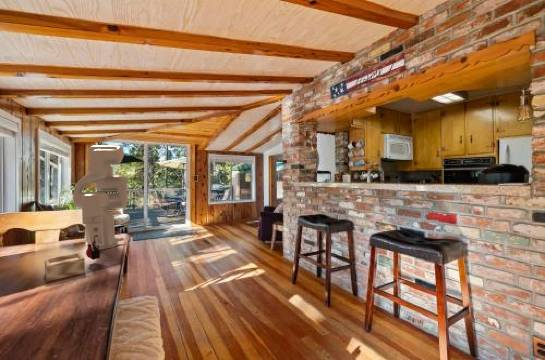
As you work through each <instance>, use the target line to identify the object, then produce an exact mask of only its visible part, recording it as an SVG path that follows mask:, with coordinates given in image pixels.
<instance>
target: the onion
mask: <svg viewBox="0 0 545 360" xmlns="http://www.w3.org/2000/svg"><path fill="white" fill-rule="evenodd" d="M93 244H95V243H93ZM94 246H95V245H94ZM87 248H88V247H87ZM87 248H86V250H85V255H86V257H87V258H88V259H91V251H92V247H91V246H90V247H89V248H88V249H87ZM99 248H100V247H99ZM101 253H102V249H100V254H101ZM91 260H92V259H91ZM93 260H96V259H93Z"/></svg>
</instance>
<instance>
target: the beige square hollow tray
mask: <svg viewBox="0 0 545 360" xmlns="http://www.w3.org/2000/svg"><path fill="white" fill-rule="evenodd" d="M85 267H86V265H85V257H84V256H83V254H81V253H80V252H76V253H69V254H65V255H59V256H55V257H48V258H44V276H45V278H46V281H47V282H50V281H54V280H58V279H63V278H67V277H72V276H75V275H79V274H80V275H81V274H83V273H86V272H85V271H86V269H85Z"/></svg>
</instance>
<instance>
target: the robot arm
mask: <svg viewBox="0 0 545 360" xmlns="http://www.w3.org/2000/svg"><path fill="white" fill-rule="evenodd" d="M87 151H88V156H89V157H88V166H87V173H86V174H85V175H84V176H82V177H81V178H80V179H79V180H78V181H77V182H76V185H75V186H74V189H73V197H72V203H73V205H74V207H76V208H79V209H81V217H82V222H81V223H82V225H84V238H85V242H86V243H87V245H86V246H87V248H86V250H87V249H88V248H89V247H90V246H91V247H92V251H91V260H93V259H95V260H97V259H100V258H101V253H100V249H101V250H106V249H112V248H115V247H117V246H118V245H119V242H123V241H124V240H125V238H124V237H116V235H115V232H116V231H115V229H116V228H115V216H114V213H113V212H111V211H110V210H118V209H119V210H120V209H122V210H123V209H125V208H127V205H128V181H127V178H126V177H125V176H124V175H118V174H117V175H113V166H112V165H114V166H115V165H120V164H121V163H122V161H123V158H124V156H125V153H124V149H123V148H122V146H119V145H105V144H104V145H103V144H101V145H99V144H98V145H97V144H96V145H92V146H89V147H88V149H87ZM92 184H95V188H96V190H97V191H91V192H89V191H88V192H86V191H85V192H83V191H84V189H86V188H87V187H88V186H90V185H92ZM107 192H110V193H107ZM112 192H113V193H112ZM114 192H116V193H114ZM93 243H95V244H93ZM94 245H95V246H94ZM99 247H100V248H99Z"/></svg>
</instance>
